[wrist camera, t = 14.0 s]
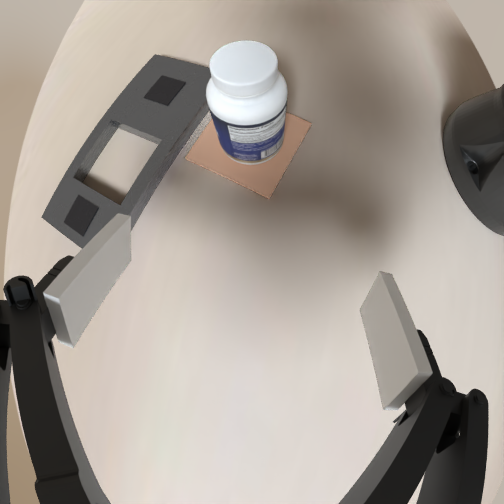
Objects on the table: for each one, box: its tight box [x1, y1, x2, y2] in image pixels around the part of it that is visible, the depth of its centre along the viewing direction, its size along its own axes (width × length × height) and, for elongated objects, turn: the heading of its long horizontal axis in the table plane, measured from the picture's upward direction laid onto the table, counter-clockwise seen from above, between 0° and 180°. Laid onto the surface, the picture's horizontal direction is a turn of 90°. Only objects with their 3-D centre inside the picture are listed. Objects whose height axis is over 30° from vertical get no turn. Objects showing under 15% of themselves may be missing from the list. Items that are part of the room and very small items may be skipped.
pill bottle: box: [206, 40, 288, 165], centre depth 20 cm, size 5×5×10 cm
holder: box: [42, 55, 211, 249], centre depth 25 cm, size 20×9×2 cm, turn 151°
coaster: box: [185, 112, 312, 199], centre depth 25 cm, size 8×8×1 cm
